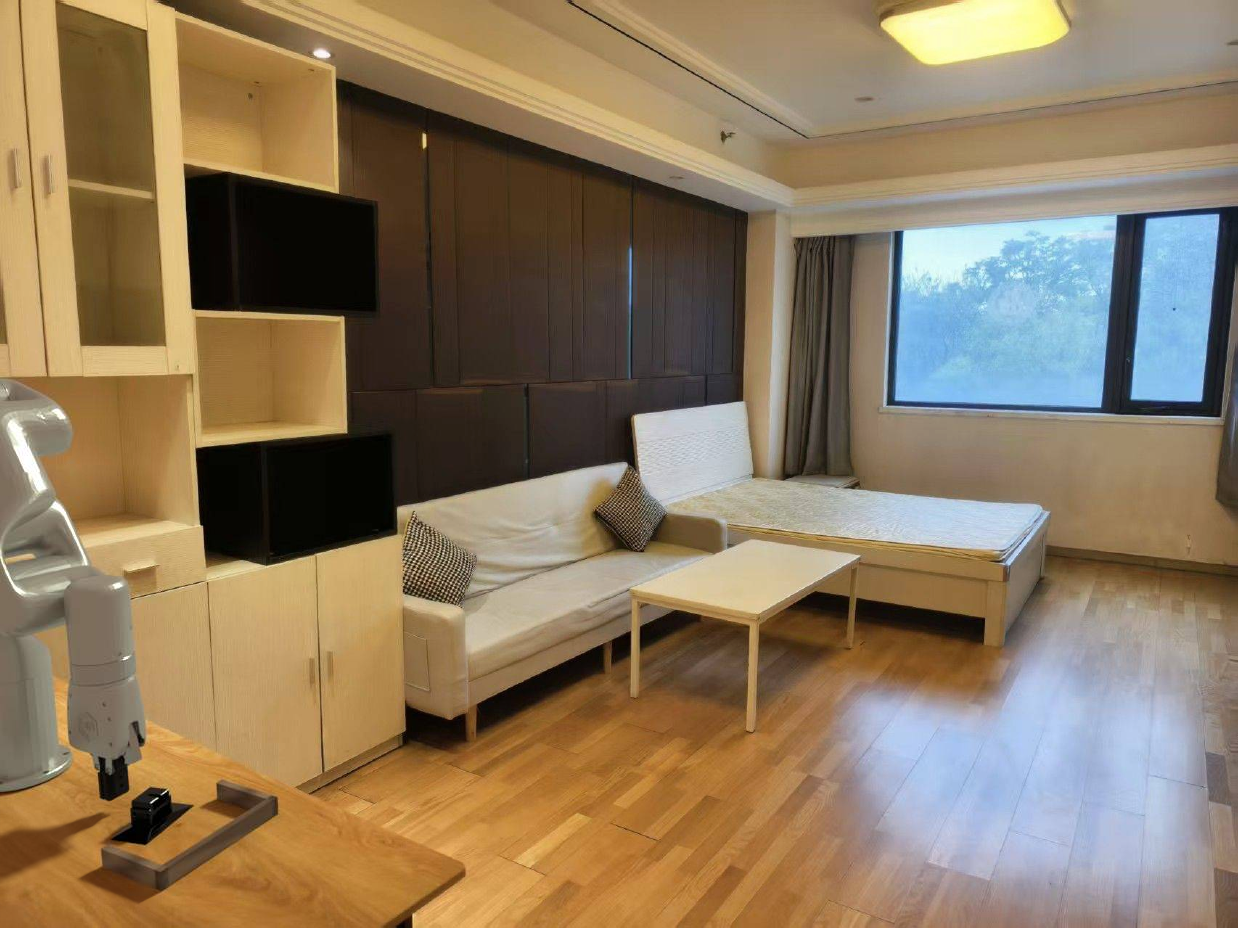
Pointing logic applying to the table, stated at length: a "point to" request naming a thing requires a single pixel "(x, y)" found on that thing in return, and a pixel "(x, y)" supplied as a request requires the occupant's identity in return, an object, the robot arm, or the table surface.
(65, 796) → the table surface
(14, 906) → the table surface
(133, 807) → the build plate
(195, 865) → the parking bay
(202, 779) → the table surface
